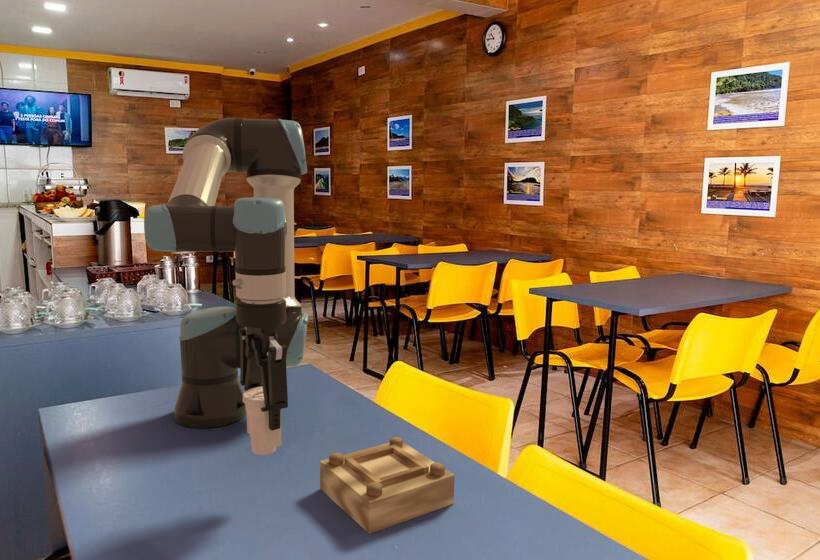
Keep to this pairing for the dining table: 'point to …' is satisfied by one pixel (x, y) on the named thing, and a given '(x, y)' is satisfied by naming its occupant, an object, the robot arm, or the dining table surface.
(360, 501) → the base brick
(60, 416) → the dining table surface
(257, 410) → the smoothie
